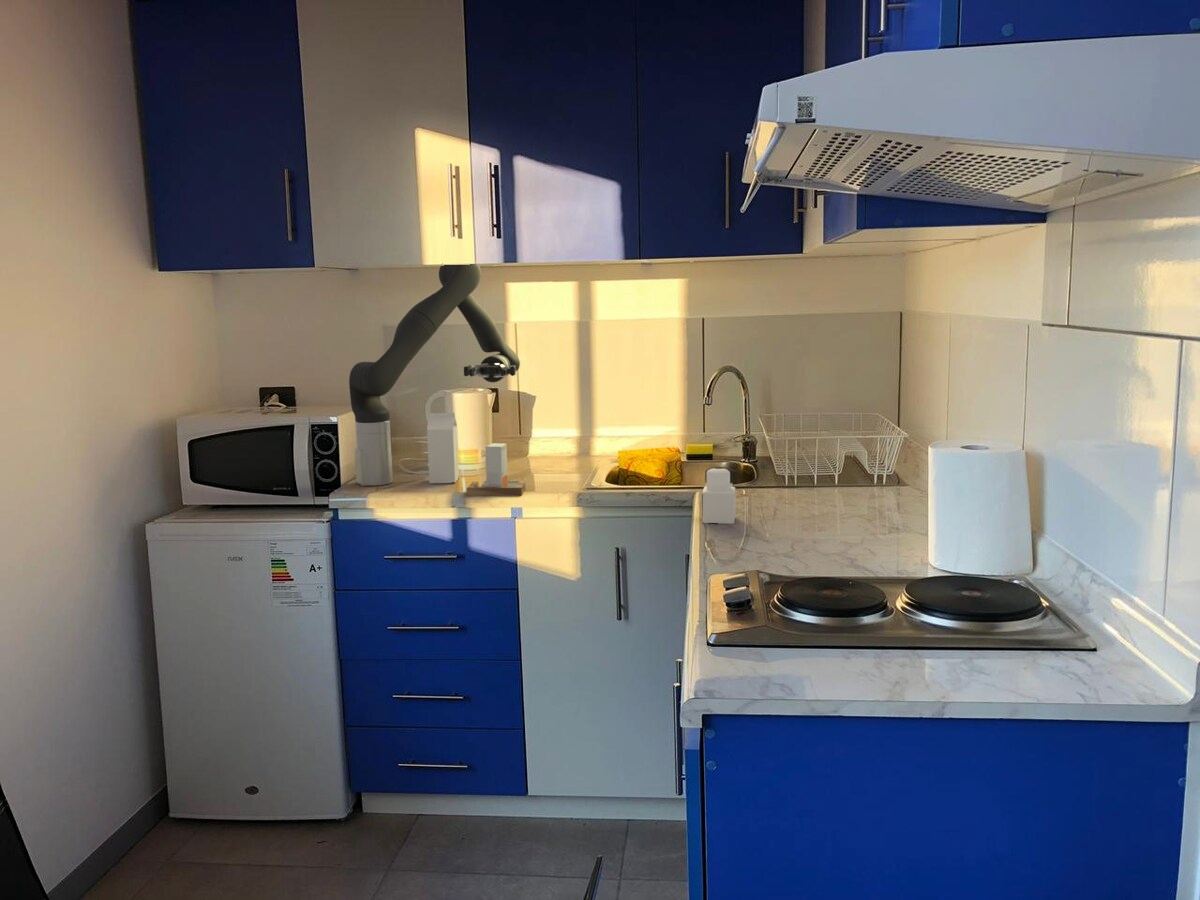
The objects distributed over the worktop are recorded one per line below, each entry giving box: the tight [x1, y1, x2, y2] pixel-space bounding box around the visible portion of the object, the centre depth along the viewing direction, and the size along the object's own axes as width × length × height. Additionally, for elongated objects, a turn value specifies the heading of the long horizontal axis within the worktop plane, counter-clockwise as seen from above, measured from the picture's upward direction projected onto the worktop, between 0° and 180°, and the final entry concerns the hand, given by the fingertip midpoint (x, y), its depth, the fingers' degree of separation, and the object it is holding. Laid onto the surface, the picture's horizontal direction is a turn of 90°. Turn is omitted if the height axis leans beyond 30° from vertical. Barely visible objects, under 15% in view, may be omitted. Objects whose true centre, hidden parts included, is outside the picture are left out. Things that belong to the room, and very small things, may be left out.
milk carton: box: [426, 412, 460, 484], centre depth 288 cm, size 7×7×19 cm
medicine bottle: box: [701, 466, 736, 525], centre depth 235 cm, size 7×7×12 cm
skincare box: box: [485, 442, 508, 487], centre depth 273 cm, size 6×4×12 cm
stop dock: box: [466, 480, 526, 497], centre depth 278 cm, size 18×14×2 cm
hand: (486, 372), depth 288 cm, fingers open, 8 cm apart
